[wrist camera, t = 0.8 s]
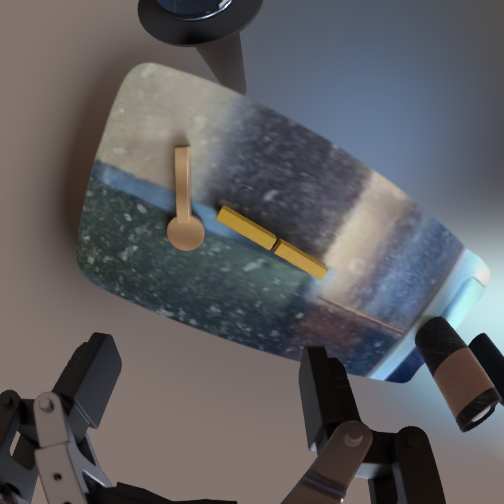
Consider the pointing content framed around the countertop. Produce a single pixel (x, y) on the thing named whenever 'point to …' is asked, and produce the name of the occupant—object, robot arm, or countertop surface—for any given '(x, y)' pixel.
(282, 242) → the bar
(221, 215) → the bar
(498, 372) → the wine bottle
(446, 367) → the travel mug
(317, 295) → the countertop surface
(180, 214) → the spoon
